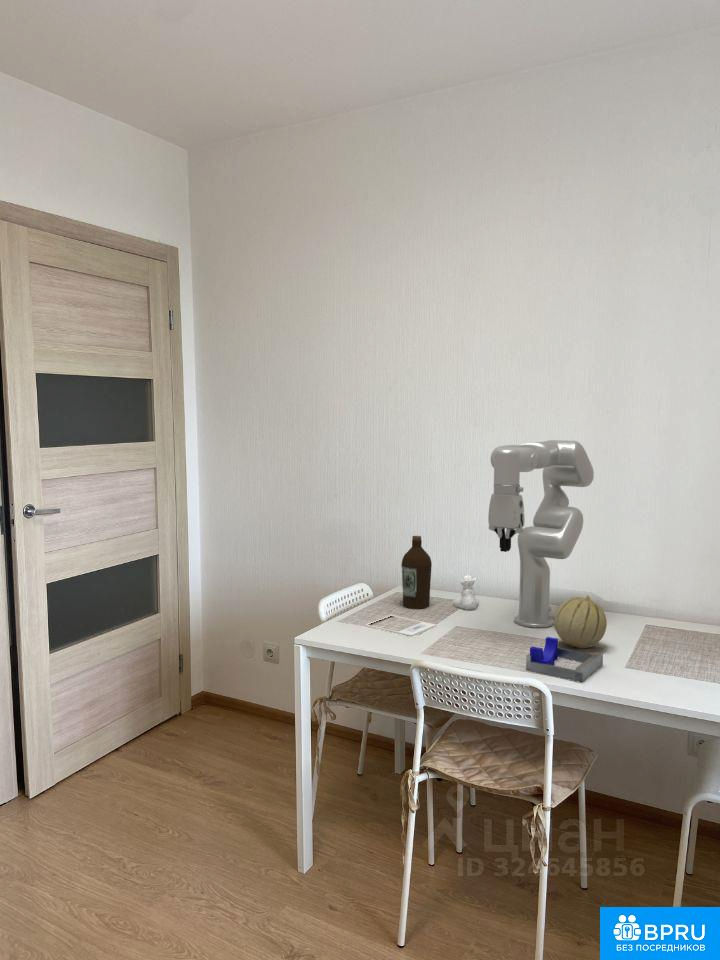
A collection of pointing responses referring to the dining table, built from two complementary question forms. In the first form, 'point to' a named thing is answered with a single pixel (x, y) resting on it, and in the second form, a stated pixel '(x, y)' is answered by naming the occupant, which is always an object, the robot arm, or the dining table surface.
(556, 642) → the cable clip
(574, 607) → the cantaloupe
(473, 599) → the sitting furry creature
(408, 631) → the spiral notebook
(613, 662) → the dining table surface
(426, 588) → the olive oil
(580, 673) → the frame
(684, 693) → the dining table surface
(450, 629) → the dining table surface
